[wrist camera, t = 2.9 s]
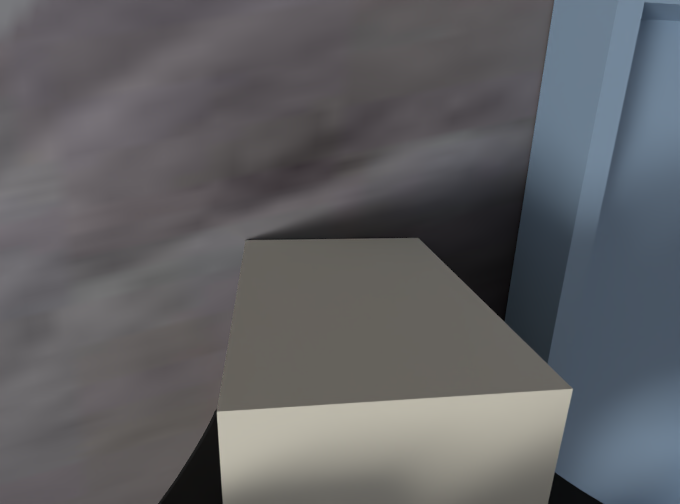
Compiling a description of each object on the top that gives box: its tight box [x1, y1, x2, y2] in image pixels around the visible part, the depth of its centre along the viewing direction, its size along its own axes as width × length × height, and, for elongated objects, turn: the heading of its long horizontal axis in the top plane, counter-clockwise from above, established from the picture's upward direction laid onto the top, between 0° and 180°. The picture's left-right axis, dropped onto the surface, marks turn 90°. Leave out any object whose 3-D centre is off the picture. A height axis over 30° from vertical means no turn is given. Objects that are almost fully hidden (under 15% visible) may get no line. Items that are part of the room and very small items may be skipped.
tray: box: [504, 0, 680, 504], centre depth 12 cm, size 8×16×2 cm, turn 178°
